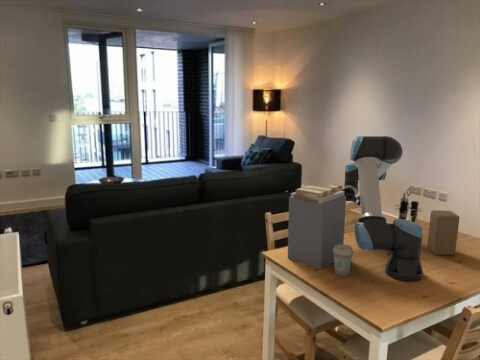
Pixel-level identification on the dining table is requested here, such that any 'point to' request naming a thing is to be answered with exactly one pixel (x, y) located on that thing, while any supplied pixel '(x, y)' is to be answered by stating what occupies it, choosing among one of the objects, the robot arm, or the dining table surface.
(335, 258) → the coffee cup
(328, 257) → the charcoal plinth
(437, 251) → the wooden block
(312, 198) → the oak board
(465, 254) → the dining table surface
